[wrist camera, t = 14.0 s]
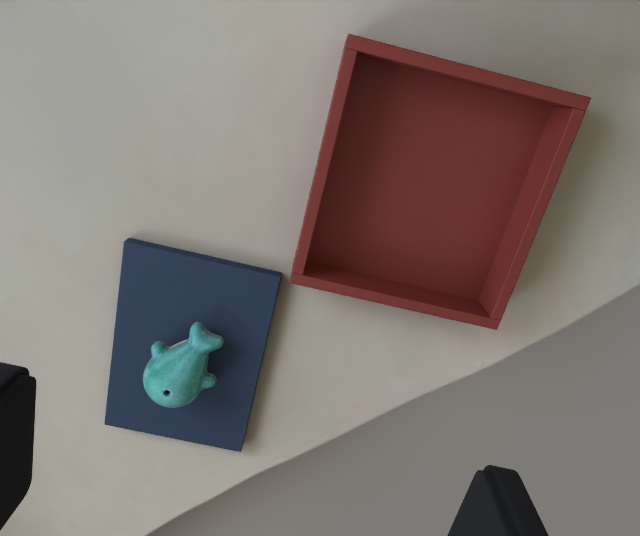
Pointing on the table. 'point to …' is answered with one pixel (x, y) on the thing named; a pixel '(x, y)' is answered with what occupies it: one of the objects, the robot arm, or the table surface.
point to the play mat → (174, 326)
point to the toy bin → (431, 182)
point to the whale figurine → (181, 368)
